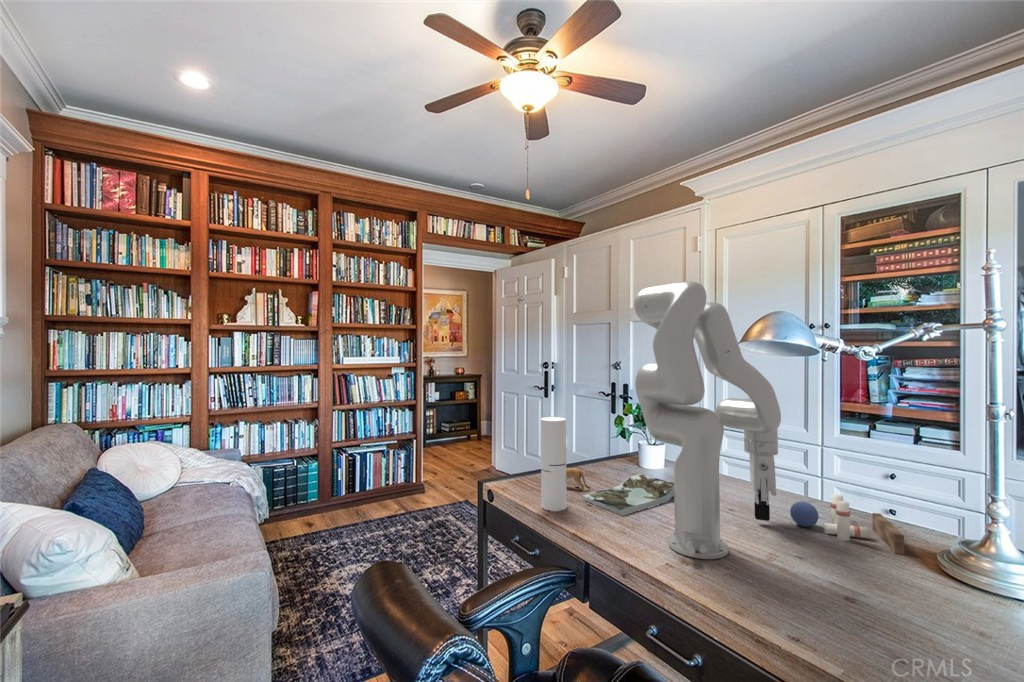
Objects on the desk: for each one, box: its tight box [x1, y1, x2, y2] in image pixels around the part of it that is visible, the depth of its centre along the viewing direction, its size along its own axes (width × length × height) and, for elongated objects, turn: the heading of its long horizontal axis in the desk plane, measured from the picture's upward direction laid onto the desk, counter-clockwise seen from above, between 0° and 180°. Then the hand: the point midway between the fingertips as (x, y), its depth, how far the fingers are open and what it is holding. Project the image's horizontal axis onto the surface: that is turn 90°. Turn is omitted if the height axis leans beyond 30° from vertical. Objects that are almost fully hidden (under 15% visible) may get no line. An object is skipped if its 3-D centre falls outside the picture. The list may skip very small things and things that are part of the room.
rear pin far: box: [830, 493, 844, 524], centre depth 110 cm, size 3×3×8 cm
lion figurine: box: [566, 467, 591, 492], centre depth 146 cm, size 15×5×9 cm, turn 71°
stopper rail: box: [872, 512, 905, 555], centre depth 104 cm, size 14×2×4 cm, turn 157°
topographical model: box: [582, 473, 674, 517], centre depth 134 cm, size 26×15×5 cm, turn 124°
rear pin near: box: [836, 500, 851, 542], centre depth 105 cm, size 3×3×8 cm
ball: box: [789, 500, 819, 528], centre depth 113 cm, size 6×6×6 cm
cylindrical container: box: [540, 416, 568, 512], centre depth 129 cm, size 7×7×25 cm
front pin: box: [823, 522, 871, 539], centre depth 107 cm, size 3×3×8 cm
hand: (762, 518), depth 114 cm, fingers closed
